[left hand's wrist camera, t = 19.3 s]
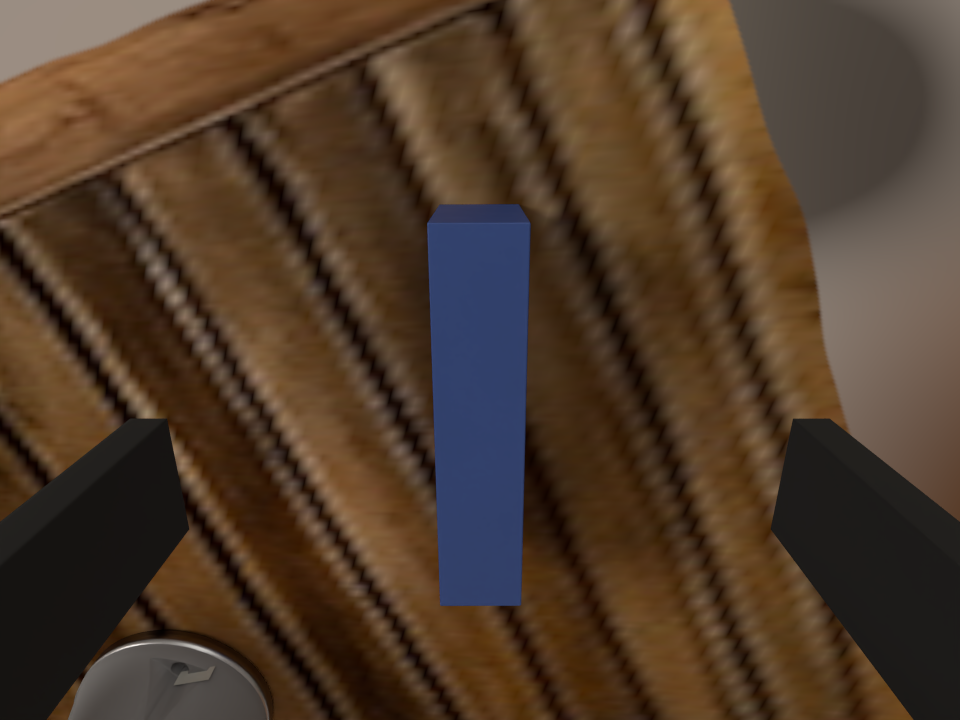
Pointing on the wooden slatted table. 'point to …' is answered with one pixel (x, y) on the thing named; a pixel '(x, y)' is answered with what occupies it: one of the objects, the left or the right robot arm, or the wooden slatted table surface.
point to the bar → (479, 397)
